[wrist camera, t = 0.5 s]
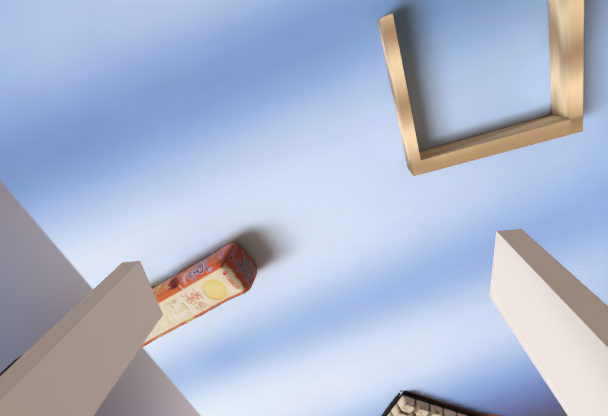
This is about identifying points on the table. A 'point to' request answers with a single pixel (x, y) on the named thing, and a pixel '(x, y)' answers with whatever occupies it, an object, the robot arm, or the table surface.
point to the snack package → (202, 288)
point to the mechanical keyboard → (423, 407)
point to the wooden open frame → (562, 122)
